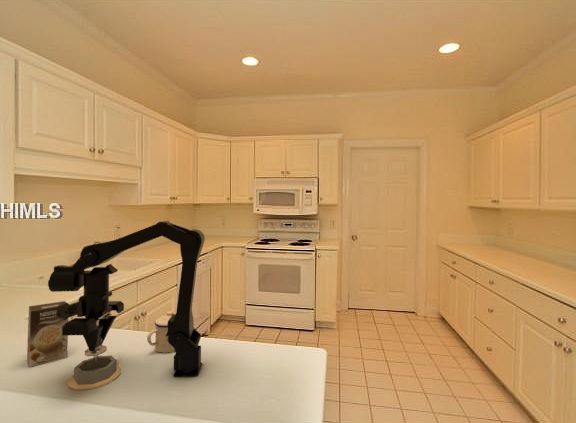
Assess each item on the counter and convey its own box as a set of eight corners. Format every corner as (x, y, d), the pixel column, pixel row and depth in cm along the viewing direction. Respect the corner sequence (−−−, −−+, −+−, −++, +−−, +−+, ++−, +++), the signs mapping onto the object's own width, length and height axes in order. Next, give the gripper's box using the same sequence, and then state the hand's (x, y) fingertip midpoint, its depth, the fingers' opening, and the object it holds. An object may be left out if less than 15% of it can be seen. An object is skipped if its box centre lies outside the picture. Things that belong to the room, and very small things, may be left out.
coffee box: (28, 368, 84) (29, 311, 84) (26, 360, 89) (27, 306, 89) (68, 357, 90) (68, 304, 90) (64, 350, 95) (65, 300, 95)
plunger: (110, 356, 83) (110, 332, 83) (100, 365, 78) (100, 339, 78) (91, 356, 82) (91, 332, 82) (80, 366, 77) (80, 340, 77)
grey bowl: (129, 364, 86) (129, 352, 86) (106, 389, 74) (106, 375, 74) (86, 366, 85) (86, 353, 85) (56, 391, 73) (56, 376, 73)
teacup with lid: (174, 338, 104) (174, 305, 104) (189, 346, 99) (190, 311, 99) (140, 351, 95) (140, 314, 95) (155, 360, 89) (155, 321, 89)
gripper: (86, 282, 89) (85, 334, 89) (38, 301, 70) (37, 367, 70) (125, 282, 89) (124, 333, 89) (87, 300, 71) (86, 365, 71)
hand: (95, 348), depth 80 cm, fingers closed on plunger, 3 cm apart
